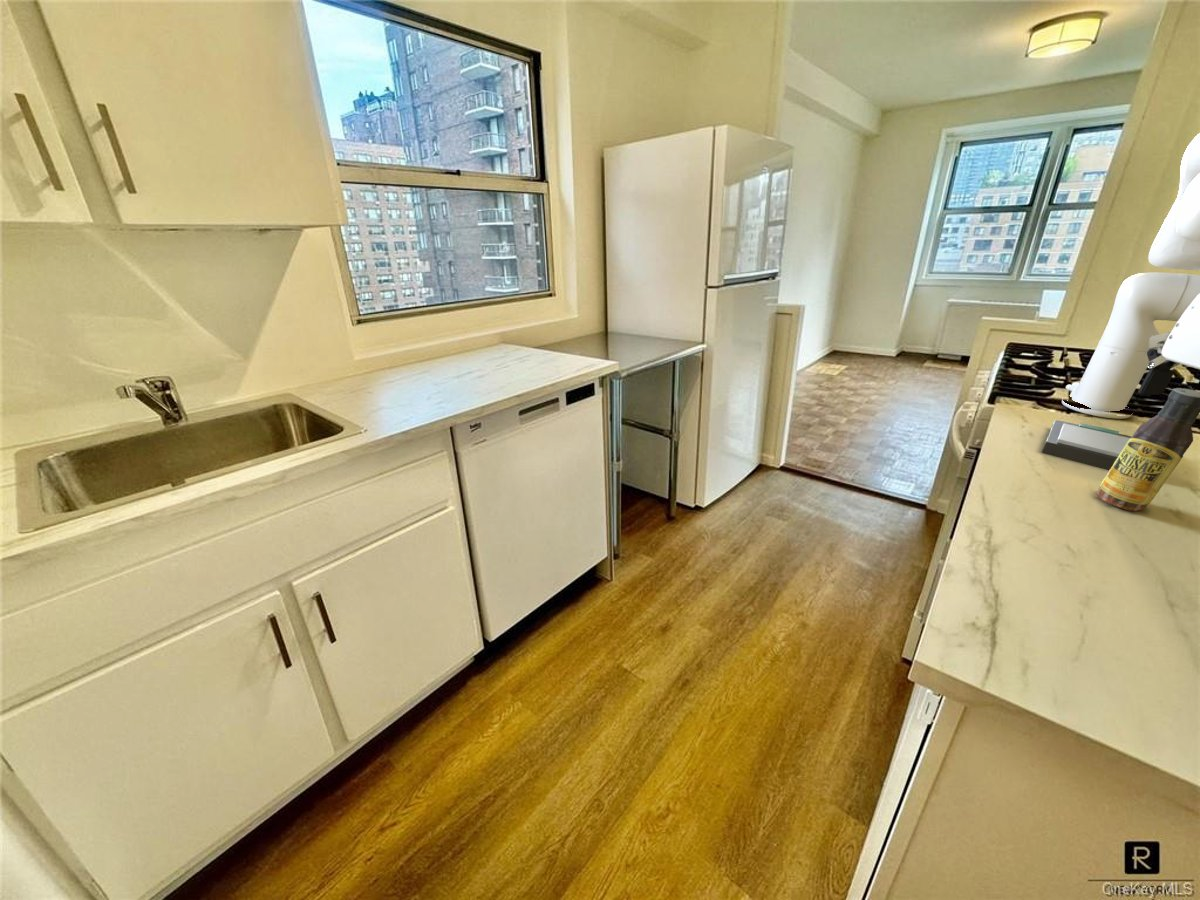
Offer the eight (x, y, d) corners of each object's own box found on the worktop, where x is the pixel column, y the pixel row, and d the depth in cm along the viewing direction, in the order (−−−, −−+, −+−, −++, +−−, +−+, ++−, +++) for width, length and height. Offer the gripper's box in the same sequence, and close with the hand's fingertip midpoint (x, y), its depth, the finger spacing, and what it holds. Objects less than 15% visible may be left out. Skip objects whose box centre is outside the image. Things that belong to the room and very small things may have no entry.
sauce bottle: (1086, 497, 82) (1147, 387, 73) (1106, 489, 85) (1168, 381, 75) (1136, 517, 77) (1209, 401, 68) (1156, 509, 79) (1229, 395, 70)
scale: (1050, 429, 107) (1056, 416, 106) (1138, 449, 99) (1146, 435, 97) (1041, 452, 97) (1048, 438, 96) (1138, 477, 88) (1148, 462, 87)
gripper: (1367, 297, 57) (1274, 429, 65) (1211, 278, 72) (1151, 387, 80) (1299, 296, 57) (1214, 427, 65) (1158, 277, 73) (1103, 385, 80)
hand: (1179, 405), depth 72 cm, fingers open, 9 cm apart
